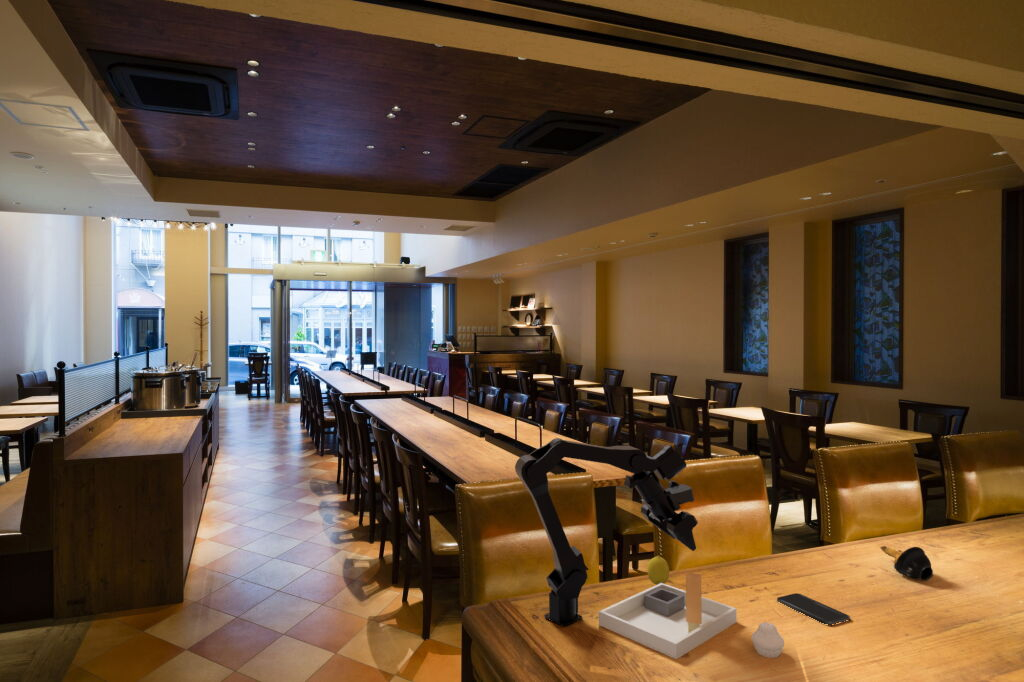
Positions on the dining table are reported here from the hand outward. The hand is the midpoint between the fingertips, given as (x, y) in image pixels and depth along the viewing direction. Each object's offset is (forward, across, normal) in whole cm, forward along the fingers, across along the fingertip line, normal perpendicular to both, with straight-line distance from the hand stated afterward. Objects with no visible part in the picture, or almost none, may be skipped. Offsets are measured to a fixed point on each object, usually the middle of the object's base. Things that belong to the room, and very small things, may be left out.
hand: (684, 543), depth 147 cm
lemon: (+12, +12, +9) cm, 19 cm away
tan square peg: (+8, -15, +13) cm, 21 cm away
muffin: (+15, -26, +5) cm, 31 cm away
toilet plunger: (+51, +5, -50) cm, 72 cm away
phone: (+28, -10, -15) cm, 33 cm away
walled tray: (+7, -10, +16) cm, 20 cm away
